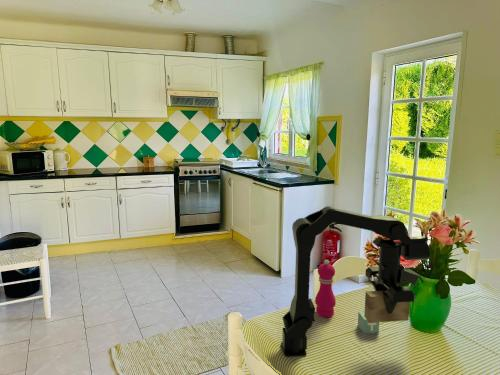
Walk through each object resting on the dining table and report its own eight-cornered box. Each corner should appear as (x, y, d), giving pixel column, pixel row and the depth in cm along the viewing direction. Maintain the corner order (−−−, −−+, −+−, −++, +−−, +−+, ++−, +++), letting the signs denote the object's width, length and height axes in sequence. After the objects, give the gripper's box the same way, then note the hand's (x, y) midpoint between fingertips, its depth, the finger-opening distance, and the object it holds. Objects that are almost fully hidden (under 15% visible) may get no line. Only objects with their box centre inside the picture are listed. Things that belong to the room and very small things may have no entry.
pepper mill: (330, 320, 121) (332, 265, 118) (311, 313, 125) (312, 260, 122) (338, 311, 127) (340, 259, 123) (320, 306, 131) (321, 254, 128)
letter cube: (364, 334, 113) (364, 319, 112) (357, 325, 118) (358, 311, 117) (378, 333, 113) (379, 318, 113) (371, 324, 118) (372, 310, 118)
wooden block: (369, 322, 102) (370, 296, 101) (364, 316, 105) (365, 291, 104) (408, 320, 103) (410, 294, 102) (402, 314, 107) (403, 289, 105)
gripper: (435, 271, 93) (431, 325, 95) (399, 248, 111) (396, 294, 114) (395, 273, 92) (392, 328, 94) (365, 249, 110) (363, 296, 113)
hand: (386, 310), depth 104 cm, fingers closed on wooden block, 3 cm apart
